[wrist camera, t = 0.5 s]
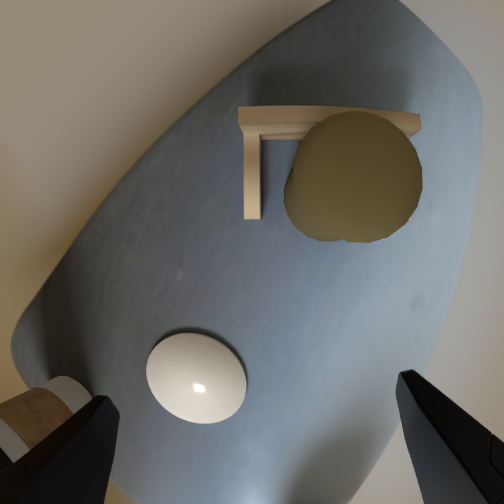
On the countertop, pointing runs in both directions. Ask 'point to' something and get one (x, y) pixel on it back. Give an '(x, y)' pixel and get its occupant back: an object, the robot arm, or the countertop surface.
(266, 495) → the countertop surface
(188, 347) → the saucer
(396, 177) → the cork
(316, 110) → the holder
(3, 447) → the coffee cup
